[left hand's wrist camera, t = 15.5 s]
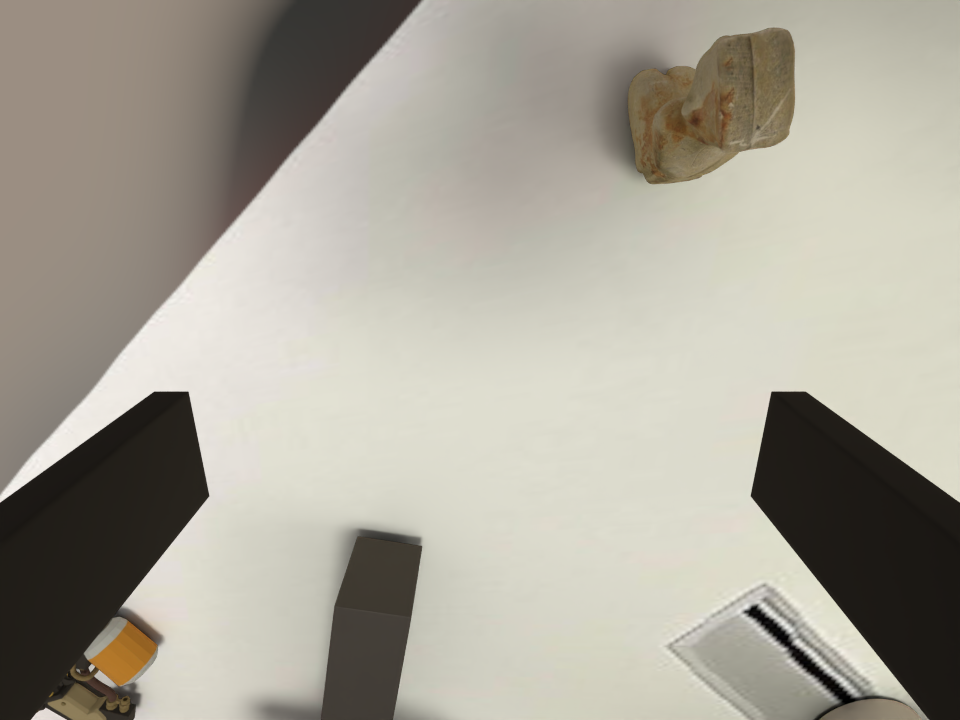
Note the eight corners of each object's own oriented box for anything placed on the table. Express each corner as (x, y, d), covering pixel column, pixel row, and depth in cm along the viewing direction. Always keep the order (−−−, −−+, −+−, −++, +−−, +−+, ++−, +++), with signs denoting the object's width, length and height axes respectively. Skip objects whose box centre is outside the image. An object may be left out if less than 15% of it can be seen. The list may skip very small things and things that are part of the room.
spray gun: (132, 721, 60) (-2, 659, 57) (189, 632, 54) (43, 559, 52) (105, 763, 56) (-40, 698, 53) (163, 670, 50) (4, 593, 48)
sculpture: (702, 66, 37) (837, 11, 23) (696, 178, 40) (815, 189, 26) (615, 74, 37) (698, 24, 23) (615, 184, 40) (689, 200, 26)
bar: (357, 535, 49) (334, 606, 42) (422, 545, 50) (411, 617, 42) (330, 749, 59) (306, 839, 51) (384, 756, 59) (369, 846, 51)
